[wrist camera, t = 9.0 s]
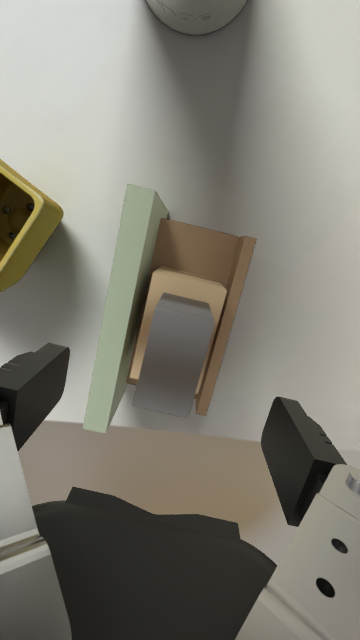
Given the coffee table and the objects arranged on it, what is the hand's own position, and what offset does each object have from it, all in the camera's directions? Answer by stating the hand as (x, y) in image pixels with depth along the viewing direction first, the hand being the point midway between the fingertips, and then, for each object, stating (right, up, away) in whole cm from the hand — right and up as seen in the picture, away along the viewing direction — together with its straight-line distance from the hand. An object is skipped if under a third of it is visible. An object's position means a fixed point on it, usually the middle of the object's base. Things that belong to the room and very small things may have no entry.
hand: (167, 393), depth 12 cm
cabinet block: (0, +3, +14) cm, 14 cm away
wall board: (0, +5, +18) cm, 19 cm away
